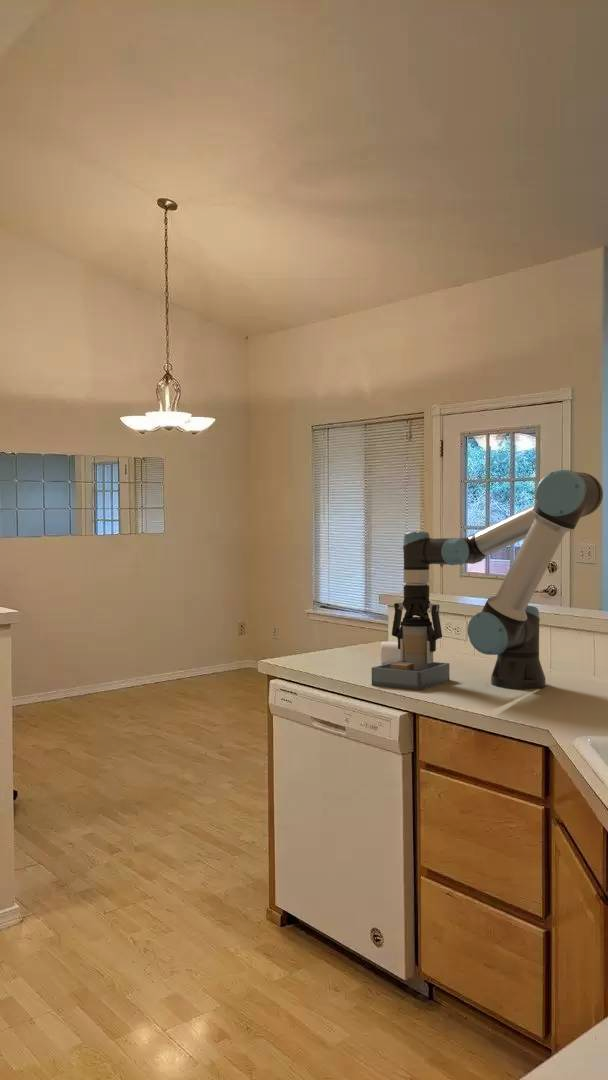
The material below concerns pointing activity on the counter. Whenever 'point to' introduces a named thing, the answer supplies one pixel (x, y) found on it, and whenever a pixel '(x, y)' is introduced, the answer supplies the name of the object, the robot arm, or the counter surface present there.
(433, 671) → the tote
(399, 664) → the walnut block
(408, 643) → the coffee cup
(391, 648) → the mug
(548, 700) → the counter surface
